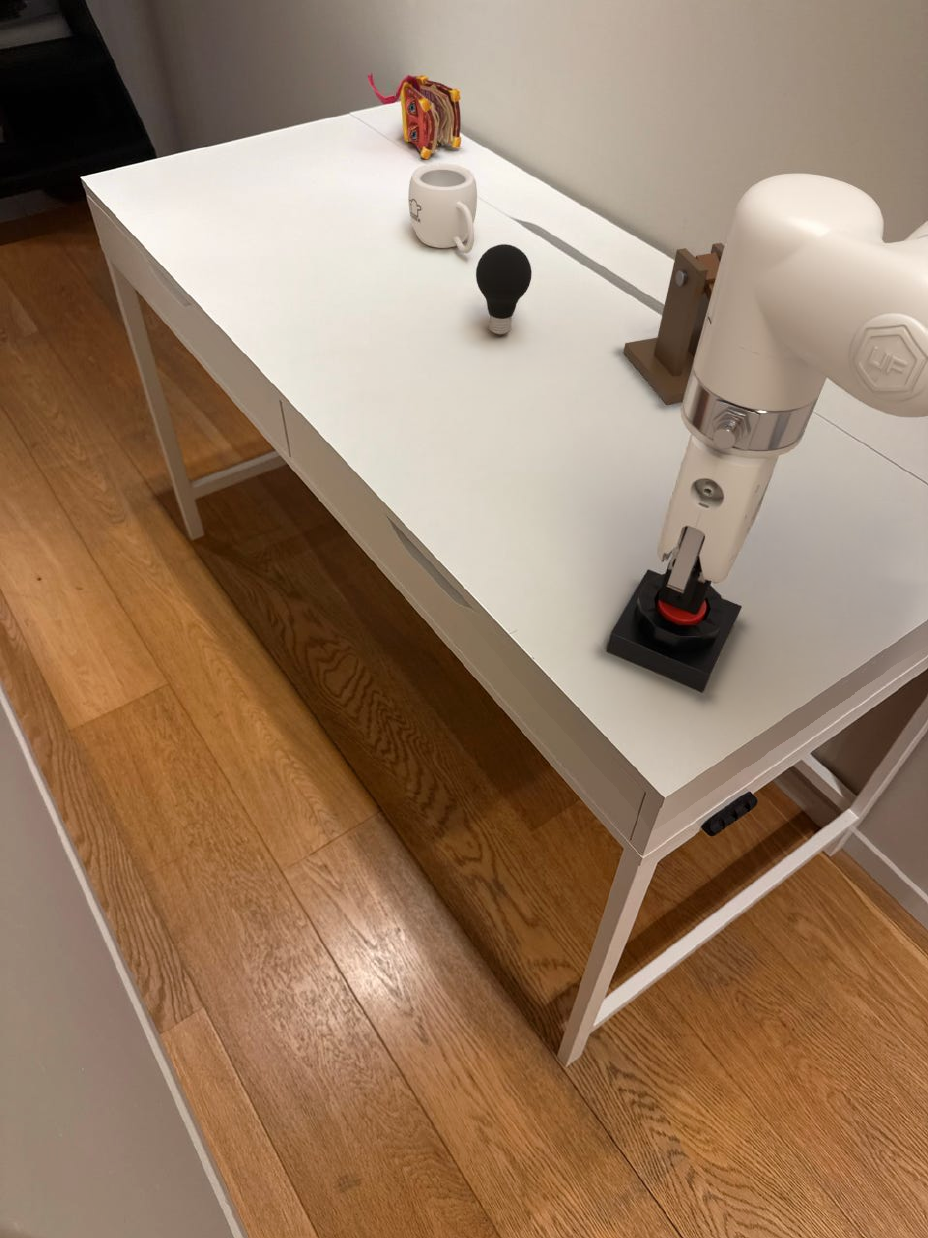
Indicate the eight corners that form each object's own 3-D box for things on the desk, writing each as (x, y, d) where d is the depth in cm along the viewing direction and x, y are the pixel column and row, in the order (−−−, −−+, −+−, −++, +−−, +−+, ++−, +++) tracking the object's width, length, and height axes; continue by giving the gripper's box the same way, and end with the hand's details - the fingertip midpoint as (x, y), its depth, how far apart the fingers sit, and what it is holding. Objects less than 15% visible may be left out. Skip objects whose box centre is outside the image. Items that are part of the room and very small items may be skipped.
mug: (397, 230, 114) (396, 167, 108) (455, 218, 116) (457, 155, 110) (440, 273, 107) (441, 207, 101) (501, 258, 110) (505, 194, 104)
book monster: (465, 151, 130) (391, 169, 127) (438, 130, 135) (366, 147, 132) (463, 70, 122) (384, 87, 118) (434, 51, 127) (358, 67, 124)
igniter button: (707, 611, 69) (713, 596, 68) (692, 642, 67) (697, 627, 66) (664, 594, 70) (668, 579, 69) (647, 623, 68) (652, 608, 67)
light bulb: (464, 326, 99) (467, 239, 92) (510, 315, 101) (517, 229, 93) (487, 353, 96) (492, 265, 88) (534, 342, 98) (544, 255, 90)
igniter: (734, 623, 72) (748, 590, 69) (703, 693, 67) (716, 660, 64) (642, 586, 74) (652, 553, 71) (605, 651, 69) (613, 618, 66)
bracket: (742, 389, 93) (778, 274, 83) (666, 404, 91) (695, 288, 81) (695, 339, 99) (724, 226, 89) (623, 352, 97) (645, 238, 87)
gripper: (774, 492, 48) (694, 690, 62) (838, 359, 57) (756, 559, 71) (645, 446, 50) (596, 647, 64) (726, 325, 59) (668, 525, 73)
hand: (680, 600), depth 67 cm, fingers closed
